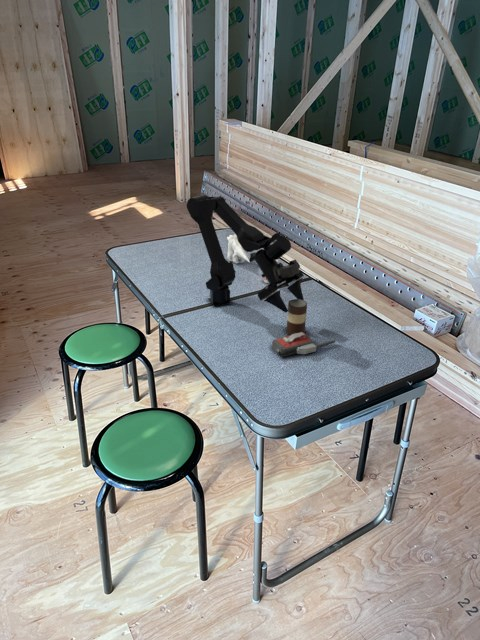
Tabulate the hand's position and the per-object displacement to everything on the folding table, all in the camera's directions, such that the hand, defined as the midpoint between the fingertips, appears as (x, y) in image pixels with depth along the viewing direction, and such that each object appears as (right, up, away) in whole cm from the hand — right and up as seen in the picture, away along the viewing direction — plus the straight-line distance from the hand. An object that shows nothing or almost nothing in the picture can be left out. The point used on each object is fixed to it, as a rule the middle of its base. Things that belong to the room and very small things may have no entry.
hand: (295, 307), depth 157 cm
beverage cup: (-6, +12, +39) cm, 41 cm away
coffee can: (+1, -8, +4) cm, 9 cm away
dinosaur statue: (-19, +21, +57) cm, 63 cm away
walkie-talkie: (+2, -13, -5) cm, 14 cm away
